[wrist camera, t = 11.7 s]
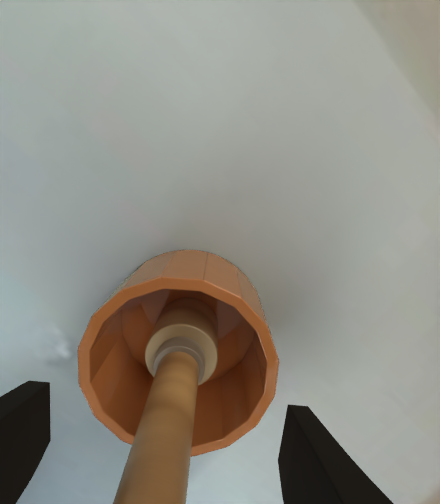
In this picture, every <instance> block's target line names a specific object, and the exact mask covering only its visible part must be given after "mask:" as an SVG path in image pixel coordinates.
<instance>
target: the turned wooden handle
mask: <svg viewBox="0 0 440 504" xmlns="http://www.w3.org/2000/svg"><path fill="white" fill-rule="evenodd" d="M217 360H218V321H217V317H216V315H215V313H214V311H213V310H212V309H211V308H210V307H209V306H208V305H207V304H206V303H204V302H202V301H200V300H198V299H194V298H180V299H177V300H174V301H172V302H170V303H169V304H168V305H167V306H165V307H164V309H163V310H162V312H161V313H160V315H159V318H158V320H157V322H156V325H155V327H154V329H153V332H152V334H151V336H150V339H149V341H148V343H147V346H146V349H145V361H146V365H147V368H148V370H149V372H150V373H151V375H152V376H153V377H154V379H153V383H152V386H151V389H150V392H149V395H148V398H147V401H146V404H145V407H144V410H143V413H142V416H141V419H140V422H139V425H138V429H137V432H136V435H135V438H134V441H133V444H132V447H131V450H130V453H129V456H128V459H127V462H126V465H125V468H124V471H123V475H122V478H121V481H120V484H119V487H118V490H117V493H116V496H115V499H114V502H113V504H186V495H187V486H188V476H189V466H190V457H191V447H192V437H193V428H194V418H195V408H196V399H197V389H198V386H199V385H201V384H203V383H204V382H205V381H206V380H208V379H209V378H210V376H211V375H212V374H213V372H214V370H215V368H216V365H217Z"/></svg>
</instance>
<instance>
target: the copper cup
mask: <svg viewBox="0 0 440 504" xmlns="http://www.w3.org/2000/svg"><path fill="white" fill-rule="evenodd" d="M180 298H194V299H198V300H200V301H202V302H204V303H206V304H207V305H208V306H209V307H210V308H211V309H212V310H213V311H214V313H215V315H216V317H217V321H218V360H217V365H216V368H215V370H214V372H213V374H212V375H211V376H210V378H209V379H208V380H206V381H205V382H204V383H203V384H201V385H199V386H198V389H197V399H196V408H195V418H194V428H193V437H192V447H191V457H192V456H197V455H200V454H204V453H207V452H211V451H214V450H218V449H222V448H225V447H227V446H230V445H231V444H232V443H234V442H235V441H236V440H238V439H239V438H241V437H242V436H243V435H245V434H246V433H247V432H249V431H250V430H252V429H253V428H254V427H256V425H257V424H258V423H259V421H260V420H261V418H262V416H263V415H264V413H265V411H266V410H267V408H268V406H269V405H270V403H271V402H272V400H273V398H274V396H275V391H276V383H277V375H278V367H279V359H278V356H277V353H276V349H275V346H274V343H273V340H272V337H271V334H270V331H269V328H268V325H267V322H266V319H265V316H264V313H263V310H262V307H261V304H260V300H259V297H258V294H257V291H256V289H255V288H254V287H253V285H252V284H251V282H250V281H249V279H248V278H247V277H246V276H245V274H244V273H243V272H242V271H241V270H239V269H238V268H237V267H236V266H235V265H233V264H232V263H231V262H229V261H227V260H225V259H224V258H222V257H219V256H217V255H214V254H212V253H208V252H204V251H198V250H177V251H171V252H167V253H163V254H161V255H158V256H156V257H154V258H152V259H150V260H148V261H146V262H145V263H144V264H142V265H141V266H140V267H138V268H137V269H136V270H135V271H134V272H133V273H132V274H131V275H130V276H129V277H128V278H127V279H125V280H124V282H123V283H122V284H121V285H120V286H119V287H118V288H117V289H116V290H115V291H114V292H113V294H112V295H111V296H110V297H109V298H108V299H107V300H106V301H105V302H104V303H103V304H102V305H101V307H100V308H99V309H98V310H97V311H96V312H95V313H94V314H93V316H92V317H91V319H90V322H89V324H88V326H87V328H86V331H85V333H84V335H83V338H82V340H81V342H80V345H79V347H78V373H79V384H80V385H79V386H80V388H81V390H82V392H83V394H84V396H85V398H86V400H87V402H88V404H89V406H90V408H91V410H92V412H93V414H94V416H95V417H96V418H97V419H98V420H99V421H100V422H101V423H102V424H104V425H105V426H106V427H107V428H108V429H109V430H110V431H111V432H112V433H114V434H115V435H116V436H117V437H118V438H119V439H120V440H122V441H124V442H126V443H129V444H131V445H132V444H133V441H134V438H135V435H136V432H137V429H138V425H139V422H140V419H141V416H142V413H143V410H144V407H145V404H146V401H147V398H148V395H149V392H150V389H151V386H152V383H153V379H154V377H153V376H152V375H151V373H150V372H149V370H148V368H147V365H146V361H145V349H146V346H147V343H148V341H149V339H150V336H151V334H152V332H153V329H154V327H155V325H156V322H157V320H158V318H159V315H160V313H161V312H162V310H163V309H164V307H165V306H167V305H168V304H169V303H170V302H172V301H174V300H177V299H180Z"/></svg>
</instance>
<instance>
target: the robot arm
mask: <svg viewBox="0 0 440 504" xmlns="http://www.w3.org/2000/svg"><path fill="white" fill-rule="evenodd" d="M49 442H50V383H48V382H38V381H28V382H26V383H24V384H22V385H20V386H18V387H17V388H15V389H13V390H11V391H10V392H8V393H6V394H5V395H3V396H1V397H0V504H16V502H17V500H18V499H19V497H20V496H21V494H22V493H23V491H24V489H25V488H26V486H27V485H28V483H29V481H30V480H31V478H32V476H33V474H34V472H35V470H36V469H37V467H38V465H39V463H40V461H41V459H42V457H43V455H44V452H45V450H46V448H47V446H48V444H49ZM278 464H279V473H280V481H281V488H282V495H283V501H284V504H393V503H392V502H391V501H390V500H389V498H388V497H387V496H386V495H385V494H384V493H383V492H382V491H381V490H380V489H379V488H378V487H377V486H376V485H375V484H374V483H373V482H372V481H371V480H370V479H369V478H368V476H367V475H366V474H365V473H364V472H363V471H362V470H361V469H360V468H359V467H358V465H357V464H356V463H355V462H354V461H353V460H352V459H351V457H350V456H349V455H348V454H347V453H346V452H345V451H344V449H343V448H342V447H341V446H340V445H339V443H338V442H337V441H336V440H335V439H334V438H333V436H332V435H331V434H330V433H329V431H328V430H327V429H326V428H325V427H324V425H323V424H322V423H321V422H320V421H319V419H318V418H317V417H316V416H315V414H314V413H313V412H312V411H311V410H310V408H309V407H308V406H297V405H288V408H287V413H286V419H285V424H284V430H283V435H282V441H281V447H280V452H279V458H278Z"/></svg>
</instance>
